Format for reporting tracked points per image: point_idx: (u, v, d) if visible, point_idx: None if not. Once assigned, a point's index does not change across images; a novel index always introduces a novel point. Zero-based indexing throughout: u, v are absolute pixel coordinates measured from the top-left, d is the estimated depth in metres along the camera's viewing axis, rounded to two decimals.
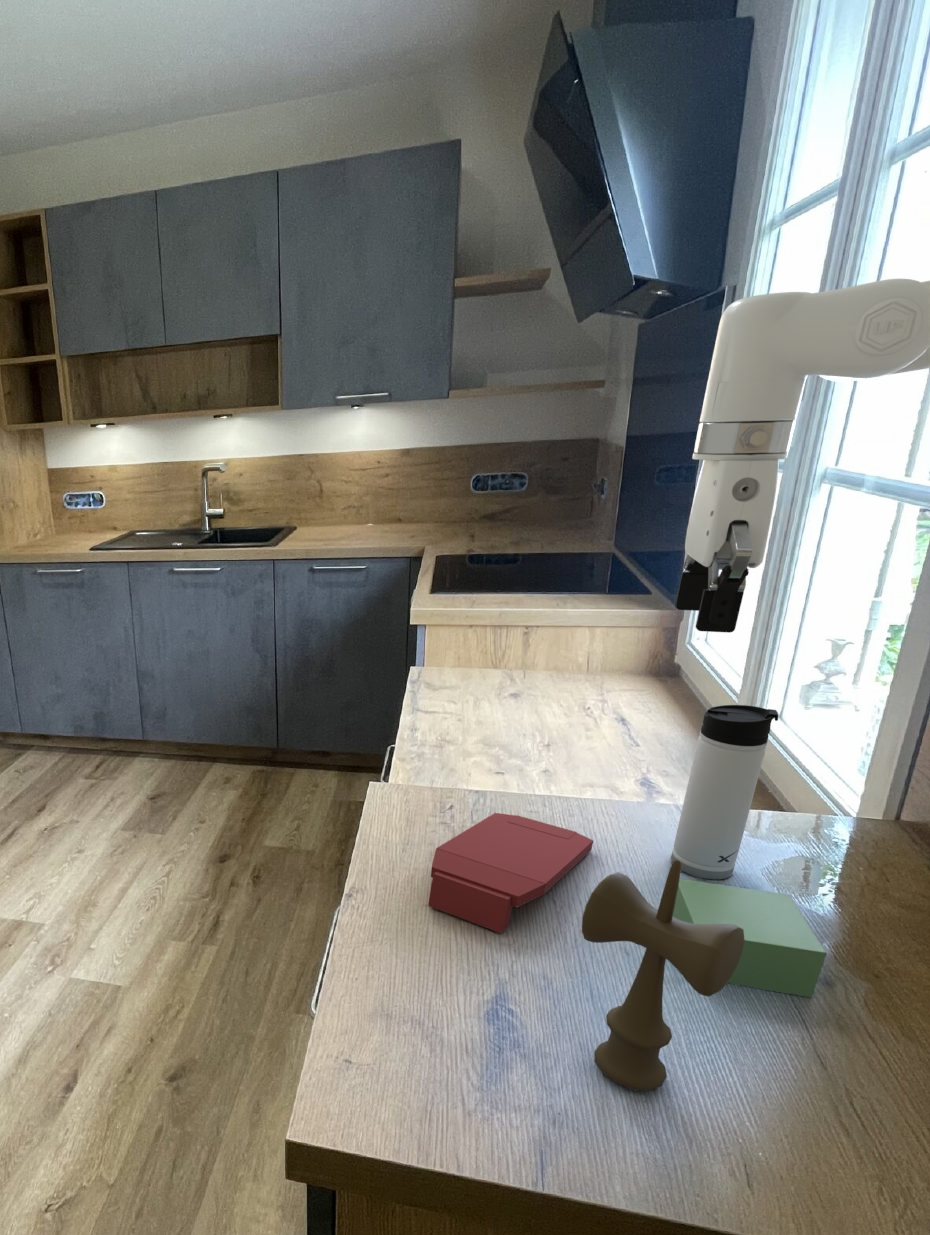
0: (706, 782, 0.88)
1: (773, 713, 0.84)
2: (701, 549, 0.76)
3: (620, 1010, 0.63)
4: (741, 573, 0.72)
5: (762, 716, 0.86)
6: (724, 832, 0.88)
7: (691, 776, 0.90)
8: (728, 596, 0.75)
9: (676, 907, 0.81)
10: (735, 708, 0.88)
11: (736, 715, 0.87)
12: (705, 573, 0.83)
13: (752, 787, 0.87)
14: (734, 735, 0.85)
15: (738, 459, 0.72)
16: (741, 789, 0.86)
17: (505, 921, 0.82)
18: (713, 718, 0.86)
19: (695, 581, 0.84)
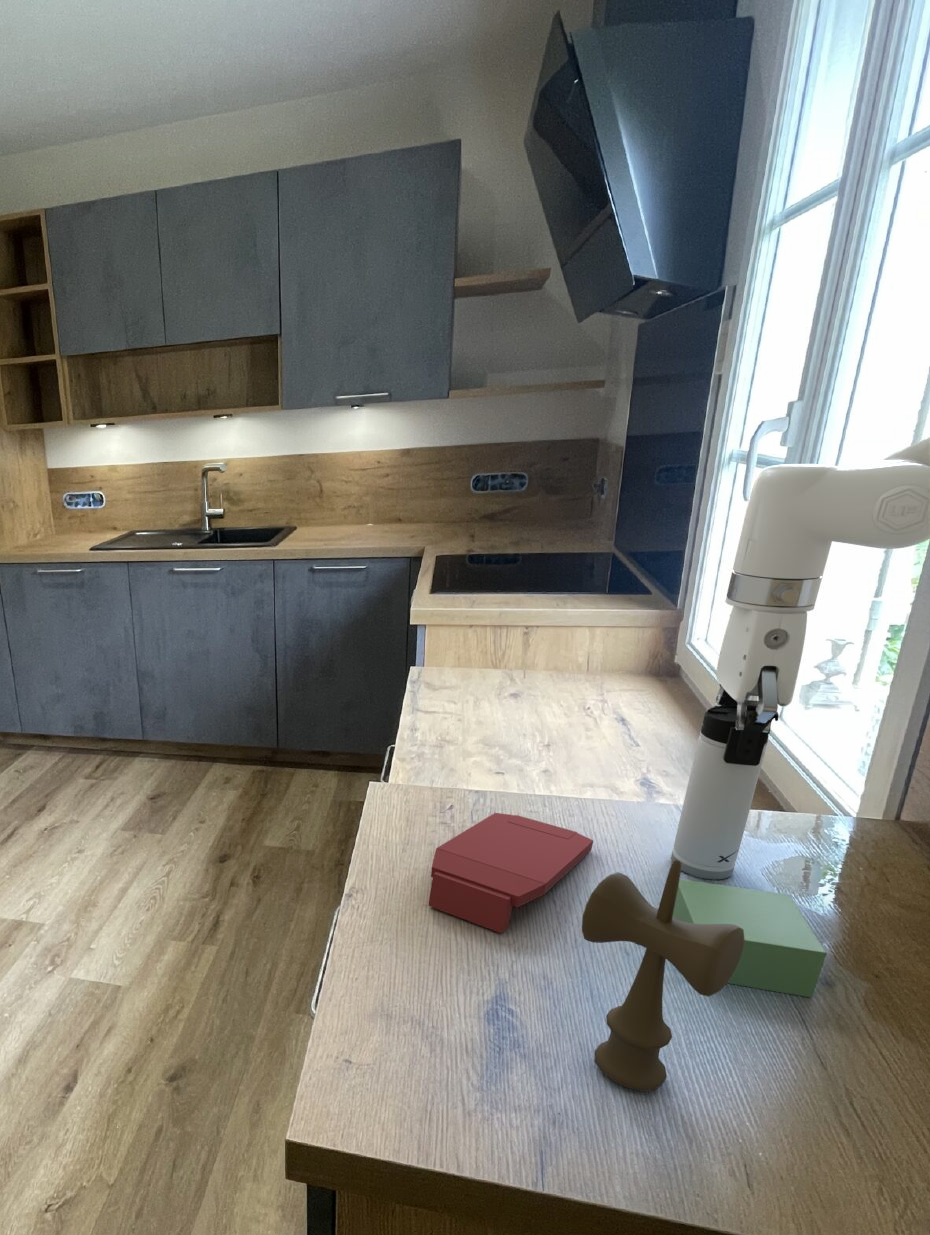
0: (706, 782, 0.88)
1: None
2: (734, 686, 0.83)
3: (620, 1010, 0.63)
4: (766, 720, 0.80)
5: None
6: (724, 832, 0.88)
7: (691, 776, 0.90)
8: (754, 735, 0.82)
9: (676, 907, 0.81)
10: (735, 708, 0.88)
11: None
12: None
13: (752, 787, 0.87)
14: None
15: (769, 611, 0.79)
16: (741, 789, 0.86)
17: (505, 921, 0.82)
18: (713, 718, 0.86)
19: None
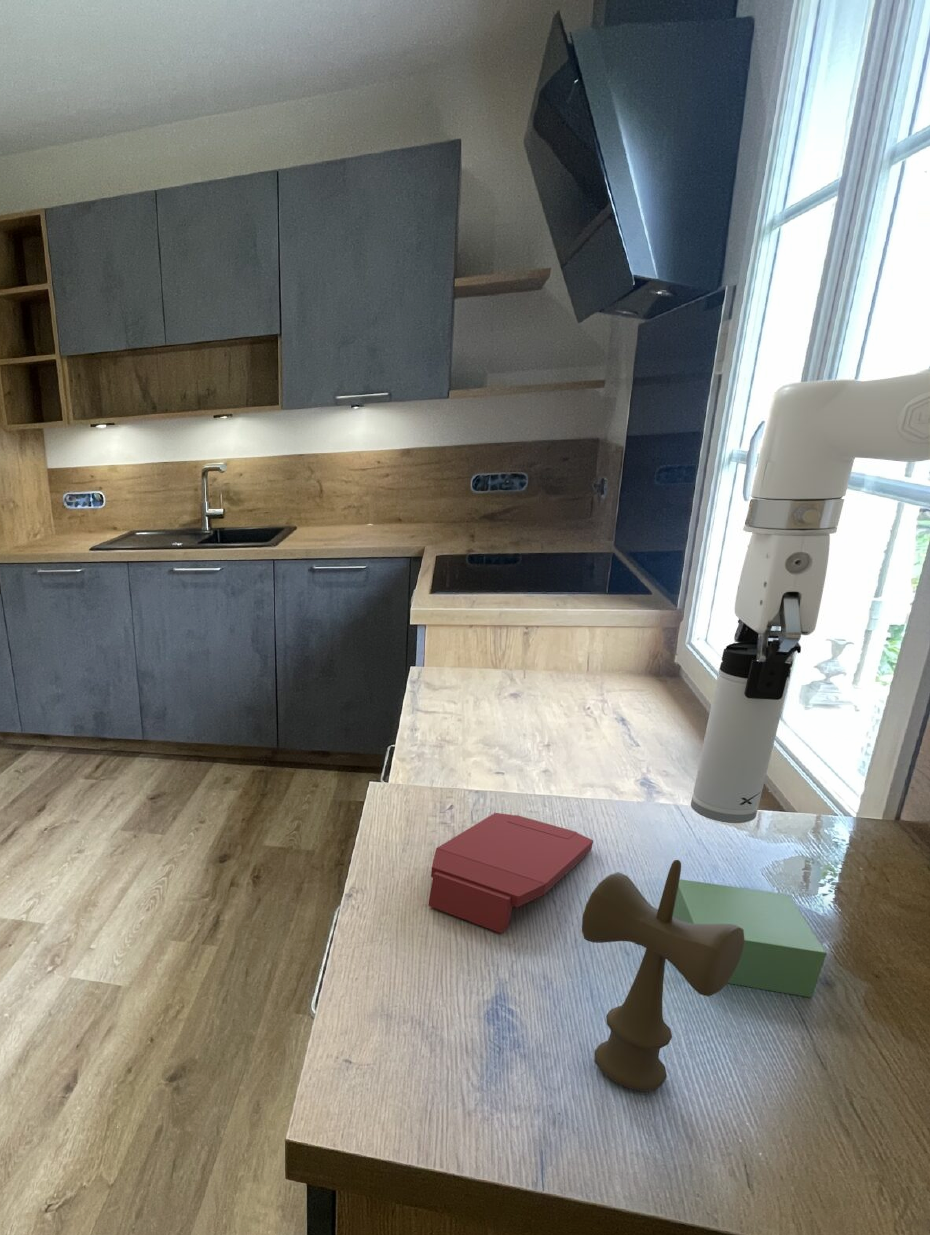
0: (726, 720, 0.85)
1: (795, 645, 0.81)
2: (754, 617, 0.80)
3: (620, 1010, 0.63)
4: (789, 649, 0.77)
5: None
6: (746, 772, 0.85)
7: (710, 716, 0.87)
8: (776, 667, 0.80)
9: (676, 907, 0.81)
10: (755, 644, 0.85)
11: (756, 650, 0.84)
12: None
13: (775, 724, 0.84)
14: None
15: (790, 534, 0.76)
16: (763, 726, 0.83)
17: (505, 921, 0.82)
18: (733, 653, 0.83)
19: None
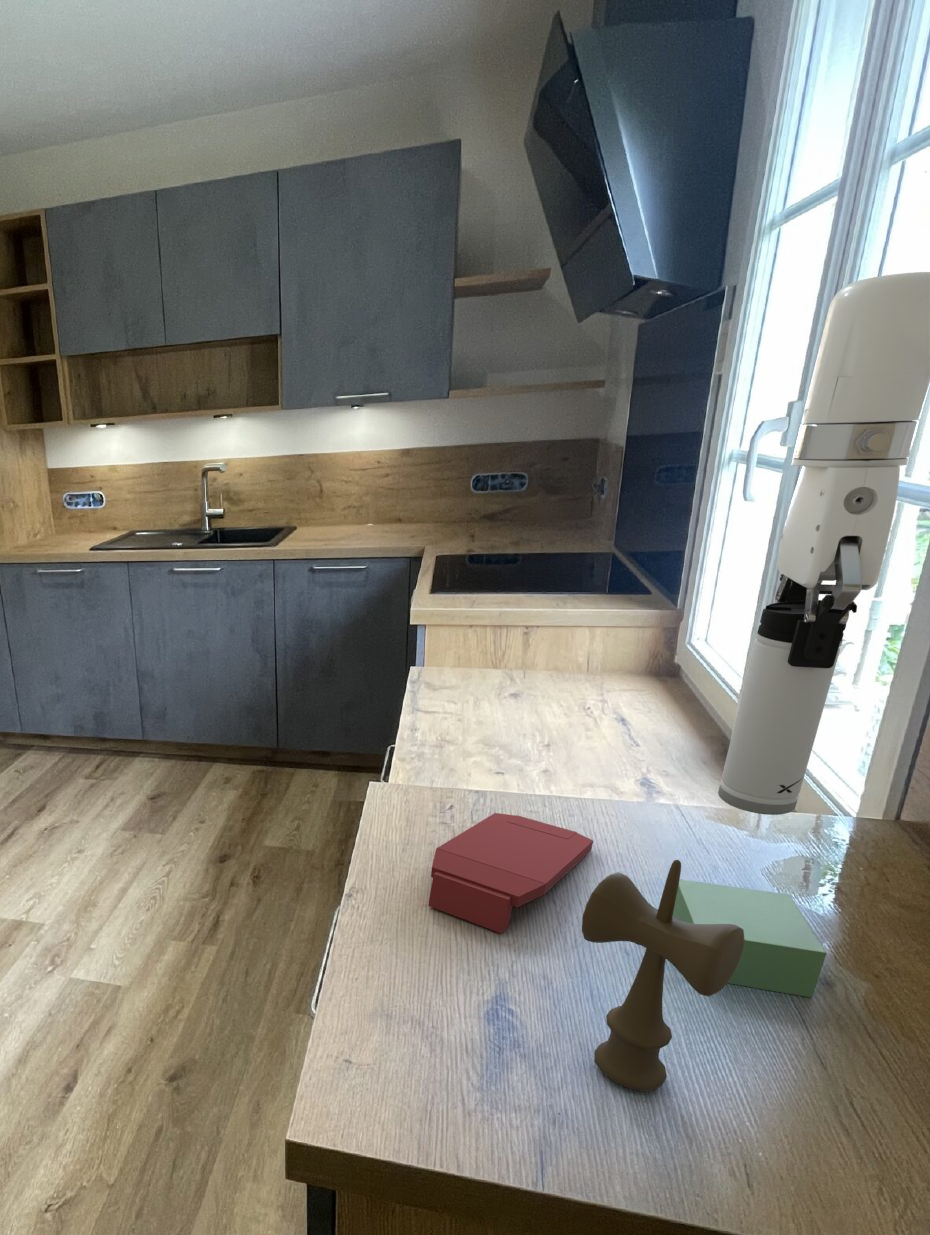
0: (764, 693, 0.72)
1: None
2: (803, 568, 0.67)
3: (620, 1010, 0.63)
4: (845, 605, 0.64)
5: None
6: (786, 755, 0.72)
7: (745, 689, 0.74)
8: (828, 628, 0.67)
9: (676, 907, 0.81)
10: (800, 604, 0.72)
11: (802, 610, 0.71)
12: None
13: (822, 698, 0.71)
14: None
15: (851, 466, 0.63)
16: (809, 700, 0.70)
17: (505, 921, 0.82)
18: (774, 613, 0.70)
19: None
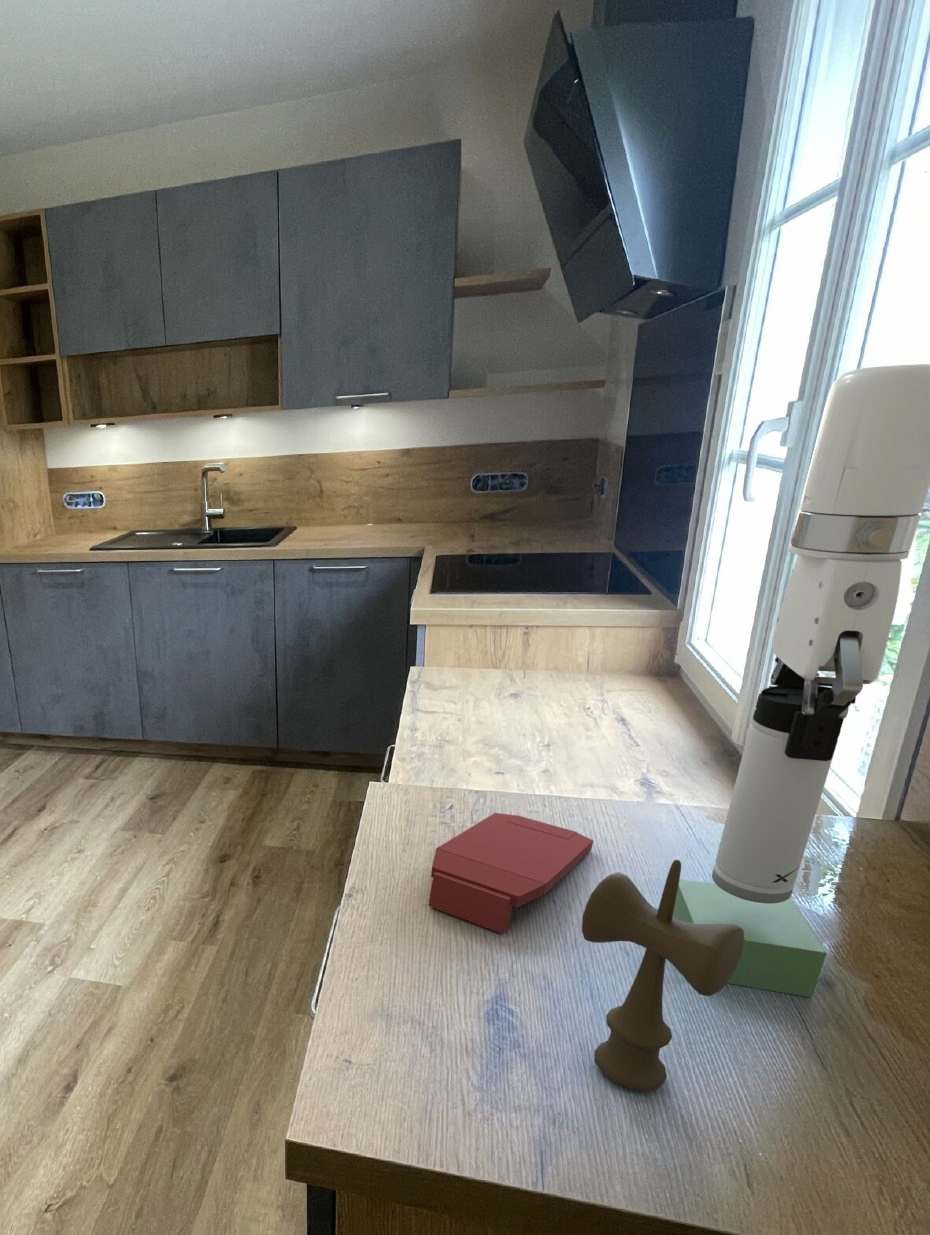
0: (760, 782, 0.70)
1: None
2: (801, 659, 0.65)
3: (620, 1010, 0.63)
4: (845, 702, 0.62)
5: None
6: (782, 845, 0.70)
7: (740, 774, 0.72)
8: (826, 722, 0.64)
9: (676, 907, 0.81)
10: (796, 689, 0.70)
11: (799, 697, 0.68)
12: None
13: (820, 788, 0.68)
14: None
15: (851, 559, 0.61)
16: (806, 791, 0.68)
17: (505, 921, 0.82)
18: (771, 701, 0.68)
19: None
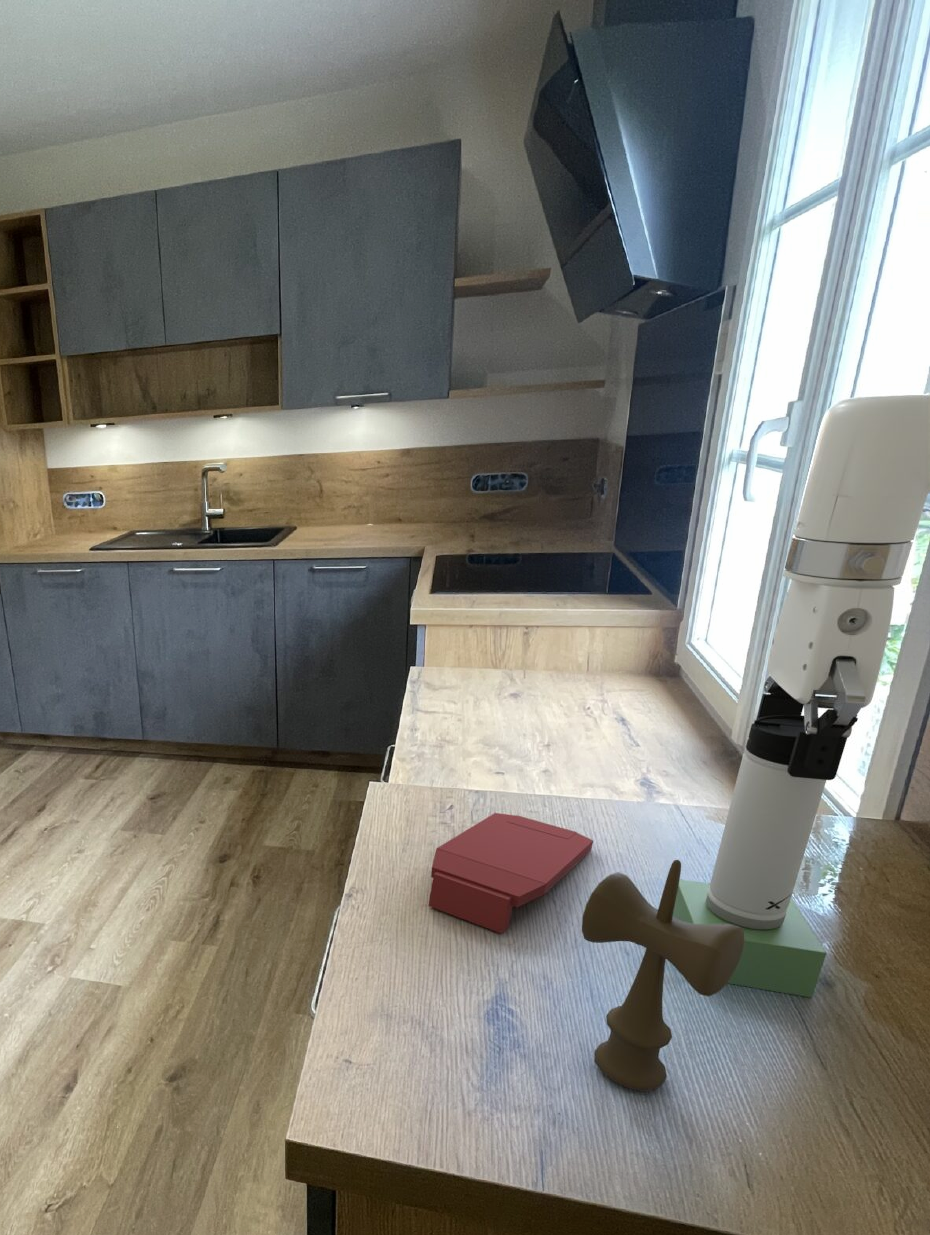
0: (753, 811, 0.71)
1: None
2: (795, 683, 0.65)
3: (620, 1010, 0.63)
4: (849, 720, 0.61)
5: None
6: (775, 873, 0.71)
7: (733, 803, 0.73)
8: (830, 741, 0.64)
9: (676, 907, 0.81)
10: (789, 719, 0.71)
11: (791, 728, 0.69)
12: (791, 697, 0.72)
13: (811, 818, 0.69)
14: (790, 753, 0.67)
15: (844, 585, 0.61)
16: (798, 820, 0.69)
17: (505, 921, 0.82)
18: (763, 732, 0.69)
19: (779, 705, 0.73)
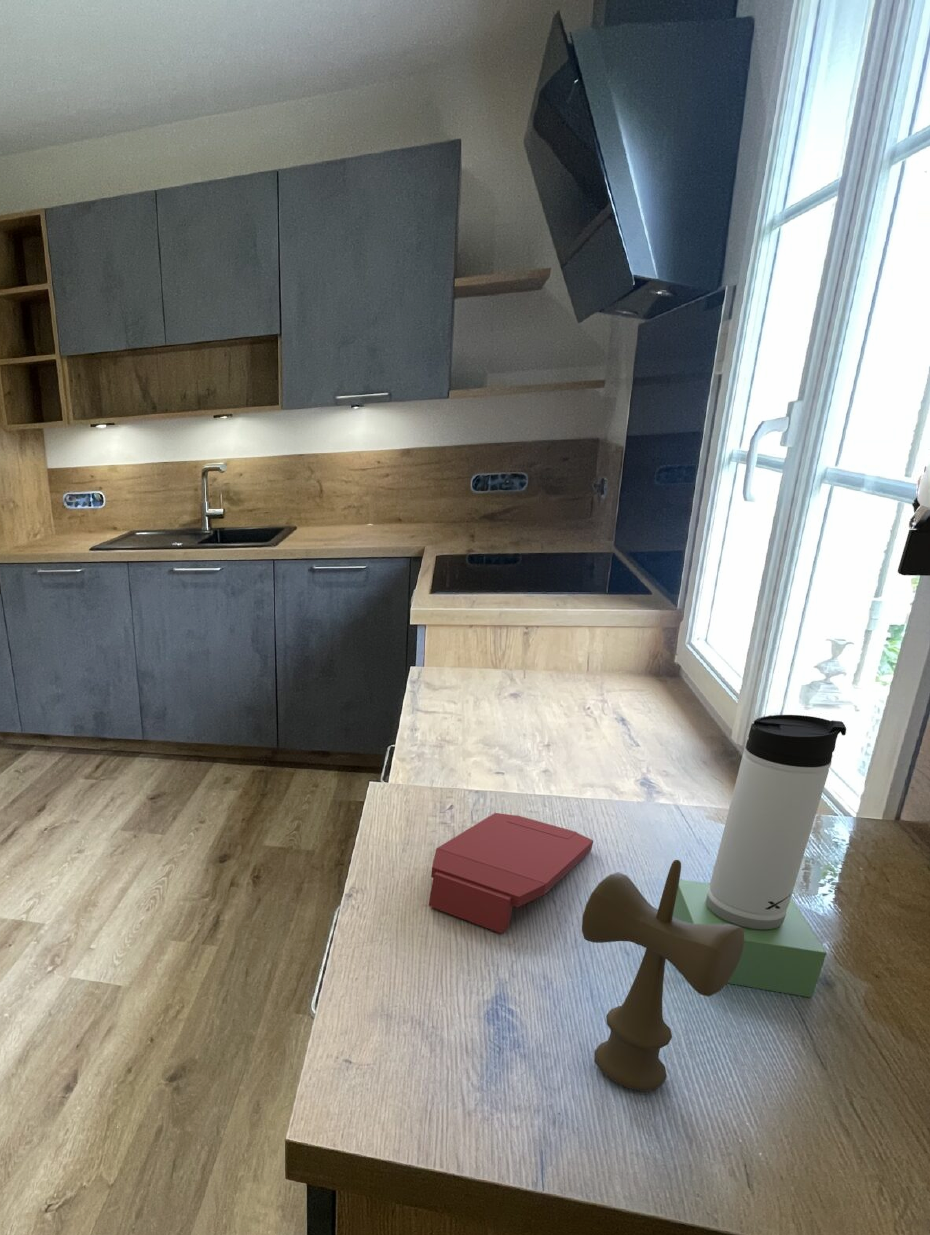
0: (752, 811, 0.71)
1: (839, 726, 0.67)
2: None
3: (620, 1010, 0.63)
4: None
5: (824, 729, 0.69)
6: (775, 873, 0.71)
7: (733, 803, 0.73)
8: None
9: (676, 907, 0.81)
10: (788, 719, 0.71)
11: (791, 728, 0.69)
12: None
13: (811, 817, 0.69)
14: (790, 753, 0.67)
15: None
16: (798, 820, 0.69)
17: (506, 921, 0.82)
18: (763, 732, 0.69)
19: (928, 540, 0.70)
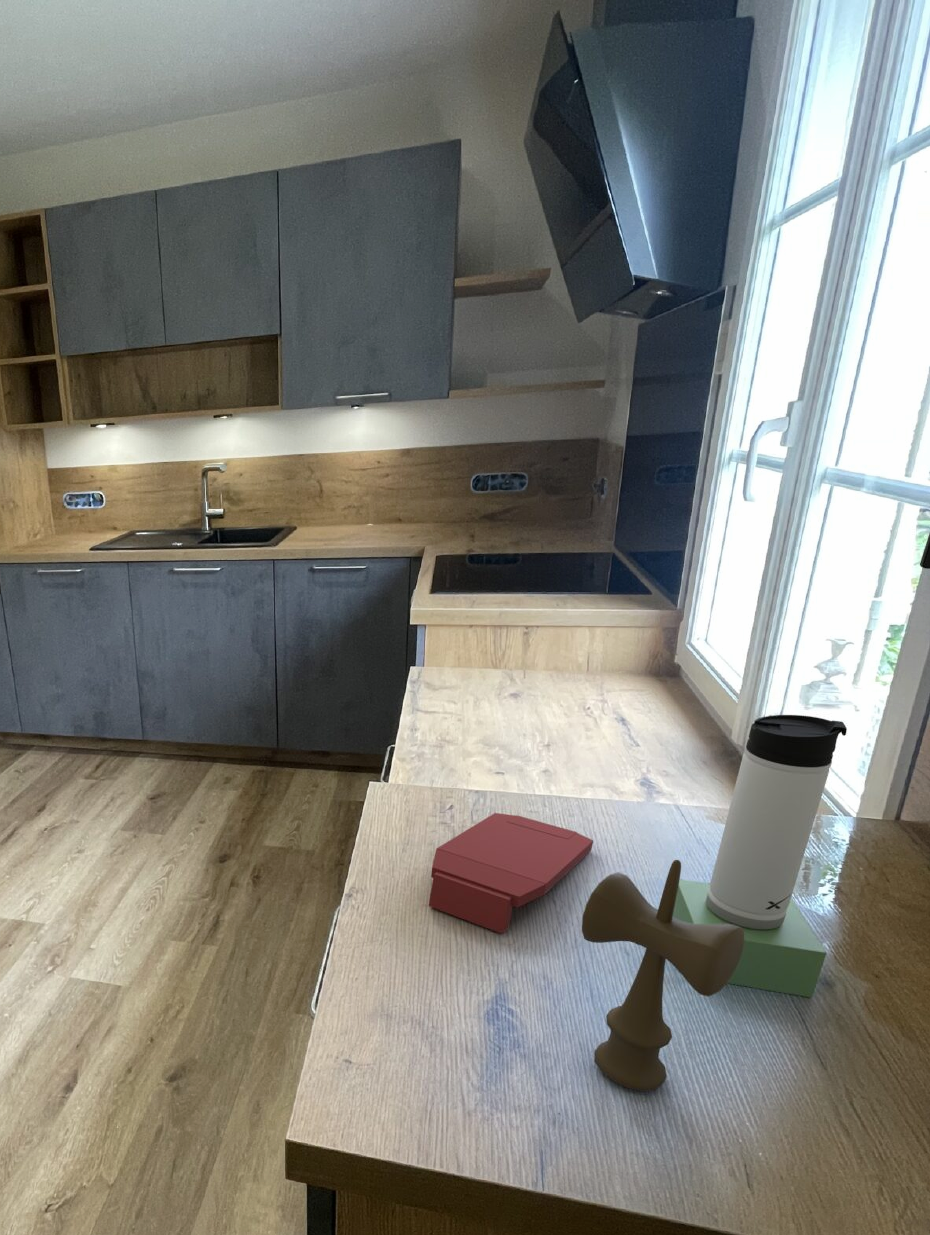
0: (753, 811, 0.71)
1: (840, 726, 0.67)
2: None
3: (620, 1010, 0.63)
4: None
5: (825, 729, 0.69)
6: (775, 873, 0.71)
7: (733, 803, 0.73)
8: None
9: (676, 907, 0.81)
10: (789, 719, 0.71)
11: (791, 728, 0.69)
12: None
13: (811, 818, 0.70)
14: (790, 753, 0.67)
15: None
16: (798, 820, 0.69)
17: (506, 921, 0.82)
18: (763, 732, 0.69)
19: None
